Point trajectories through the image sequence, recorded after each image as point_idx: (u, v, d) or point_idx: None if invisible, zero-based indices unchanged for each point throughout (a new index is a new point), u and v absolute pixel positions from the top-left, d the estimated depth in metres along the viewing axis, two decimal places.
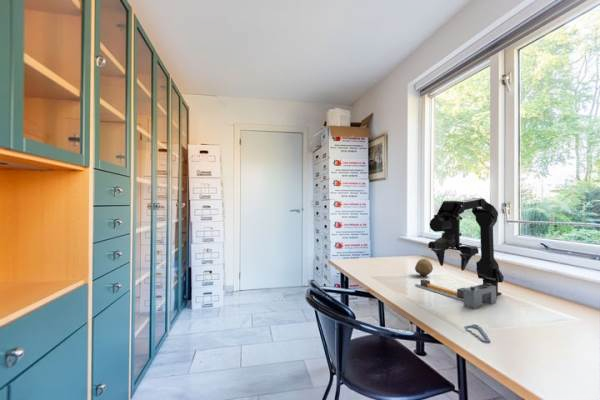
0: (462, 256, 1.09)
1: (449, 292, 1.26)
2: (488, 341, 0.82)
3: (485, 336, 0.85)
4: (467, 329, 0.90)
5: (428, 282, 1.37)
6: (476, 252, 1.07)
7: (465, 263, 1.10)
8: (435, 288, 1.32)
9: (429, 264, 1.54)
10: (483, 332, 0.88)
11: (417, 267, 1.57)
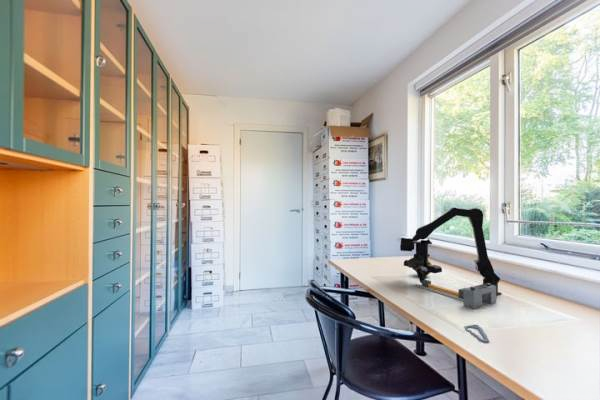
0: (421, 272, 1.38)
1: (450, 292, 1.25)
2: (487, 341, 0.82)
3: (484, 336, 0.85)
4: (467, 329, 0.90)
5: (429, 282, 1.37)
6: (440, 271, 1.32)
7: (424, 277, 1.39)
8: (436, 288, 1.32)
9: None
10: (483, 332, 0.87)
11: None
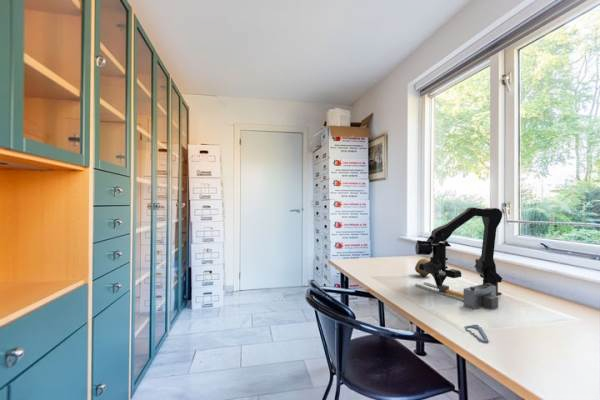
0: (438, 276, 1.29)
1: None
2: (486, 341, 0.82)
3: (484, 336, 0.85)
4: (467, 329, 0.90)
5: (447, 288, 1.28)
6: (459, 276, 1.24)
7: (441, 282, 1.30)
8: (455, 294, 1.23)
9: None
10: (483, 332, 0.87)
11: (417, 267, 1.57)
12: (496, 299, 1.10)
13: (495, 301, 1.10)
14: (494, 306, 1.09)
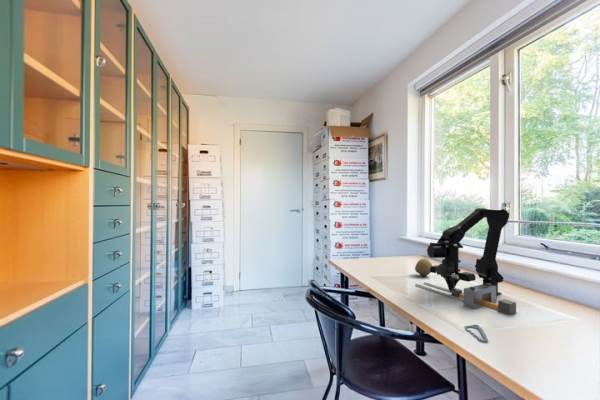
0: (451, 279, 1.24)
1: (487, 304, 1.11)
2: (486, 341, 0.82)
3: (484, 336, 0.85)
4: (467, 329, 0.91)
5: (460, 292, 1.22)
6: (473, 279, 1.18)
7: (453, 285, 1.25)
8: None
9: (429, 264, 1.54)
10: (482, 332, 0.87)
11: (417, 267, 1.57)
12: (514, 304, 1.05)
13: (513, 306, 1.04)
14: (512, 312, 1.04)
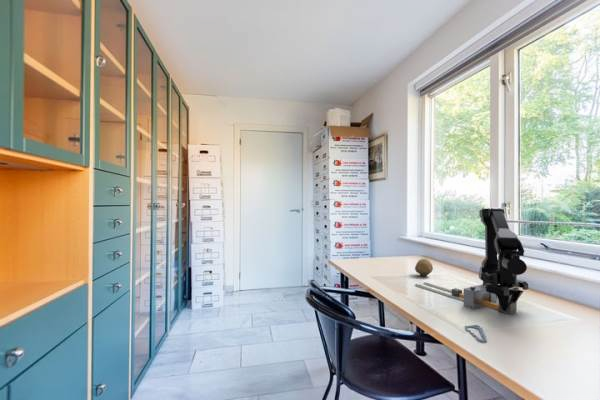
0: None
1: (487, 304, 1.11)
2: (484, 341, 0.82)
3: (483, 336, 0.85)
4: (466, 329, 0.91)
5: (460, 292, 1.22)
6: (497, 293, 1.01)
7: (502, 303, 1.04)
8: None
9: (429, 264, 1.54)
10: (482, 332, 0.87)
11: (417, 267, 1.57)
12: (514, 304, 1.05)
13: (513, 306, 1.04)
14: (513, 311, 1.04)
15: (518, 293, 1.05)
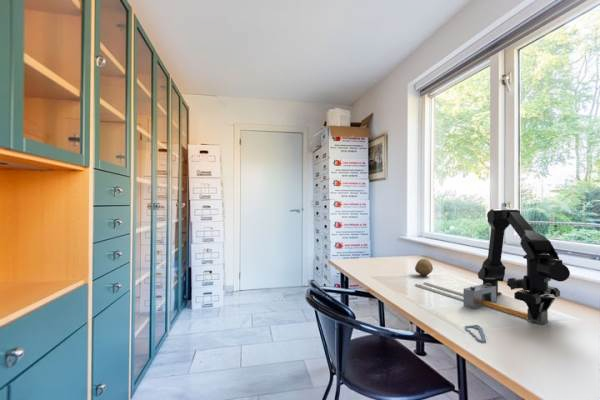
0: None
1: (514, 312, 1.03)
2: (484, 341, 0.82)
3: (482, 336, 0.85)
4: (466, 329, 0.91)
5: (483, 298, 1.14)
6: (528, 300, 0.92)
7: (533, 311, 0.96)
8: (494, 306, 1.09)
9: (429, 264, 1.54)
10: (482, 332, 0.87)
11: (417, 267, 1.57)
12: (546, 313, 0.96)
13: (545, 315, 0.96)
14: (544, 321, 0.95)
15: (549, 301, 0.97)
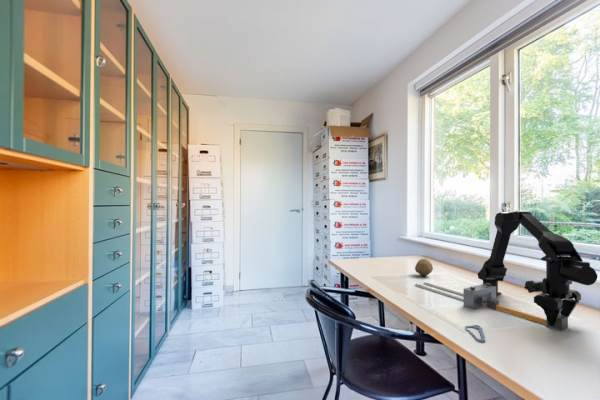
0: None
1: (532, 317, 0.98)
2: (483, 340, 0.82)
3: (482, 336, 0.85)
4: (466, 329, 0.91)
5: (497, 302, 1.09)
6: (549, 305, 0.87)
7: (550, 317, 0.90)
8: (509, 311, 1.04)
9: (429, 264, 1.54)
10: (482, 332, 0.87)
11: (417, 267, 1.57)
12: (566, 319, 0.91)
13: (565, 321, 0.91)
14: (564, 327, 0.91)
15: (573, 304, 0.93)
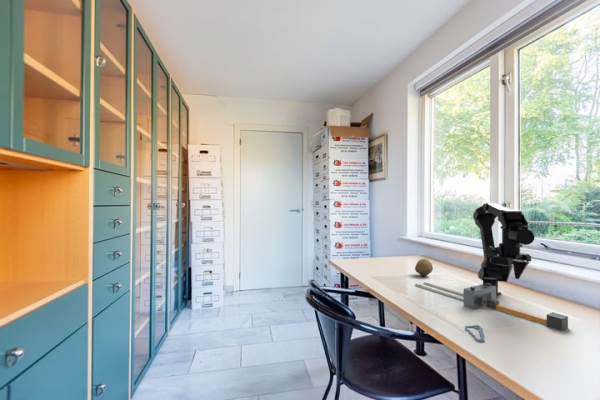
0: None
1: (532, 317, 0.98)
2: (482, 340, 0.83)
3: (481, 336, 0.85)
4: (466, 328, 0.91)
5: (497, 302, 1.09)
6: (501, 263, 1.05)
7: (503, 274, 1.07)
8: (509, 311, 1.04)
9: (429, 264, 1.54)
10: (481, 332, 0.87)
11: (417, 267, 1.57)
12: (566, 319, 0.91)
13: (565, 321, 0.91)
14: (564, 327, 0.91)
15: (524, 264, 1.10)
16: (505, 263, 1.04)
